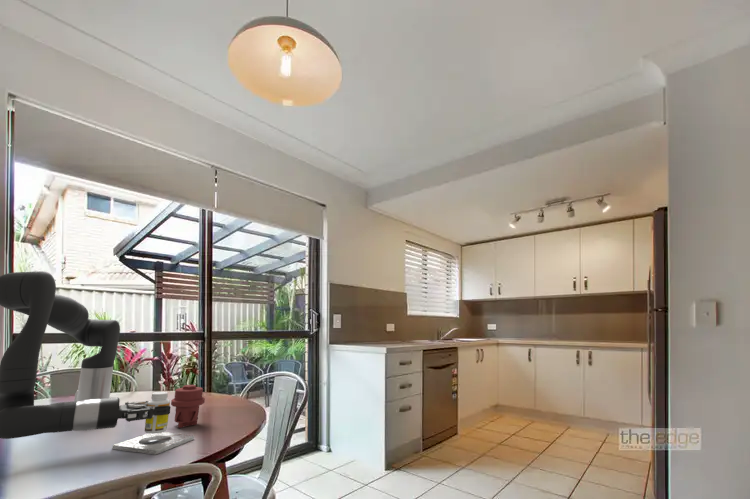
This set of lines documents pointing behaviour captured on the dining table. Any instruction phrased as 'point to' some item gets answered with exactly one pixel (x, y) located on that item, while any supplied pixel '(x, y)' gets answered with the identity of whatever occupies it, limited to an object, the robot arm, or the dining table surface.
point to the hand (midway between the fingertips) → (168, 407)
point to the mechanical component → (187, 405)
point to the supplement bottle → (159, 421)
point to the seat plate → (153, 443)
